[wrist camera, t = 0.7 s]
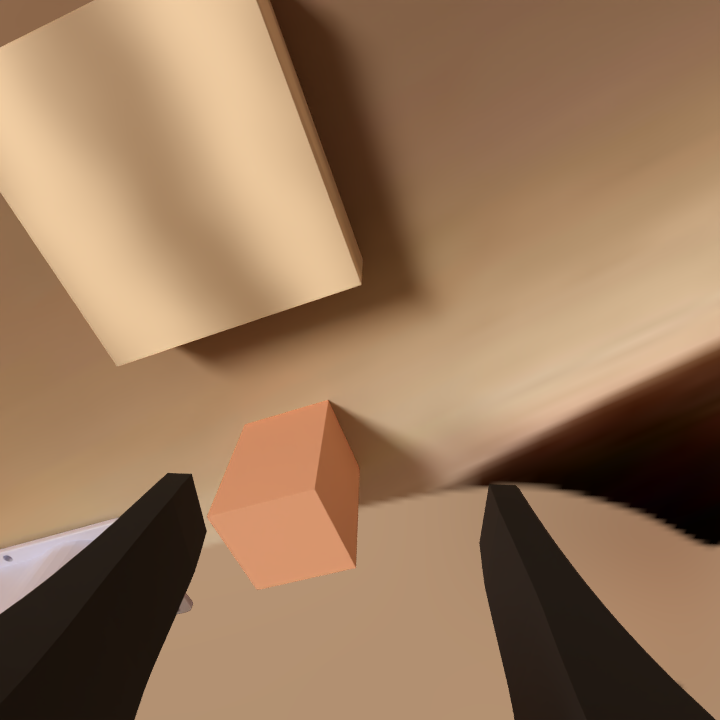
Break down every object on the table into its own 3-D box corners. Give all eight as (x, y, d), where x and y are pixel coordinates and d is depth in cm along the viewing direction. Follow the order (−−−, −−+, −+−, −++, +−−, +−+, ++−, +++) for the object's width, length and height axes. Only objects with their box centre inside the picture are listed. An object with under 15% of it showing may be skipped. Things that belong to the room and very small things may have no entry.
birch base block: (154, 329, 21) (117, 366, 18) (9, 89, 17) (-73, 83, 14) (363, 257, 19) (361, 284, 16) (259, -32, 15) (231, -69, 12)
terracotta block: (281, 488, 25) (256, 590, 20) (245, 424, 23) (206, 516, 18) (359, 468, 24) (356, 568, 19) (328, 399, 22) (314, 488, 17)
